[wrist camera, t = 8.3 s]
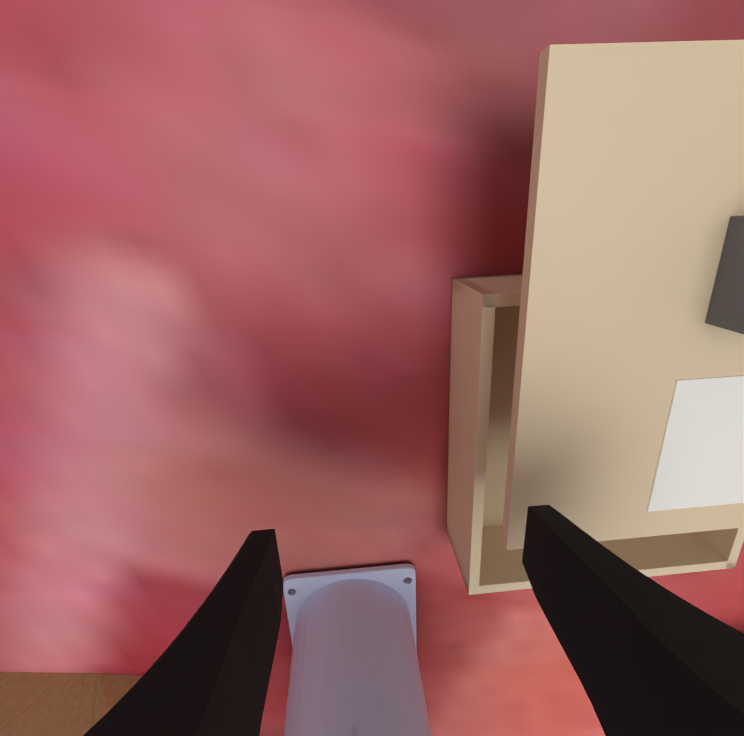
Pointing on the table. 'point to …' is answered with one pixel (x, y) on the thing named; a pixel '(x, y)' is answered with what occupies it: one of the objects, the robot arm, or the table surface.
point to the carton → (491, 445)
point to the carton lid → (632, 293)
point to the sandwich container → (57, 701)
